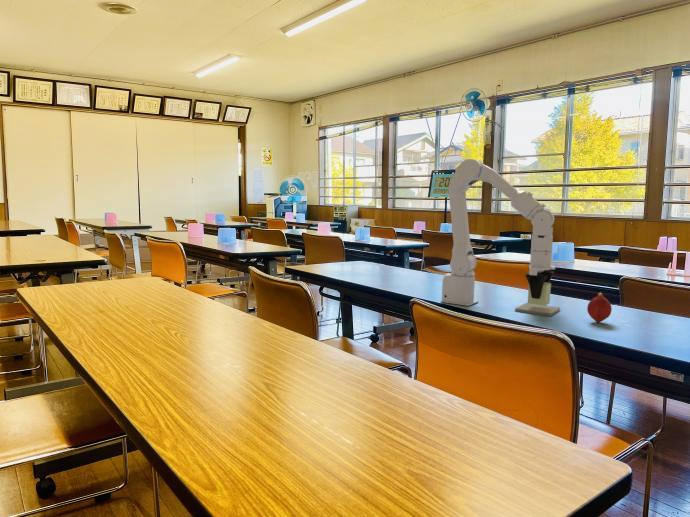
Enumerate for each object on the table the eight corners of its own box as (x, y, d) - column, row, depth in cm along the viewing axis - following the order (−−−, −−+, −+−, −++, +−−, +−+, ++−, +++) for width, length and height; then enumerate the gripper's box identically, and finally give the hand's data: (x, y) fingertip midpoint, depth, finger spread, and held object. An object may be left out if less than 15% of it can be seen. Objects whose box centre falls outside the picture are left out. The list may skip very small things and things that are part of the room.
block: (527, 303, 148) (528, 283, 148) (532, 300, 152) (533, 281, 152) (545, 305, 145) (546, 285, 145) (549, 303, 150) (551, 282, 149)
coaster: (515, 311, 148) (515, 308, 148) (525, 305, 156) (525, 302, 156) (550, 316, 142) (550, 313, 142) (559, 310, 150) (560, 307, 150)
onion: (613, 325, 133) (615, 295, 132) (589, 324, 134) (591, 294, 133) (606, 320, 138) (608, 291, 137) (584, 319, 139) (586, 290, 138)
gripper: (548, 253, 139) (545, 302, 141) (562, 249, 151) (559, 294, 152) (522, 251, 143) (520, 299, 145) (537, 248, 155) (535, 291, 156)
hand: (538, 296), depth 149 cm, fingers closed on block, 5 cm apart
